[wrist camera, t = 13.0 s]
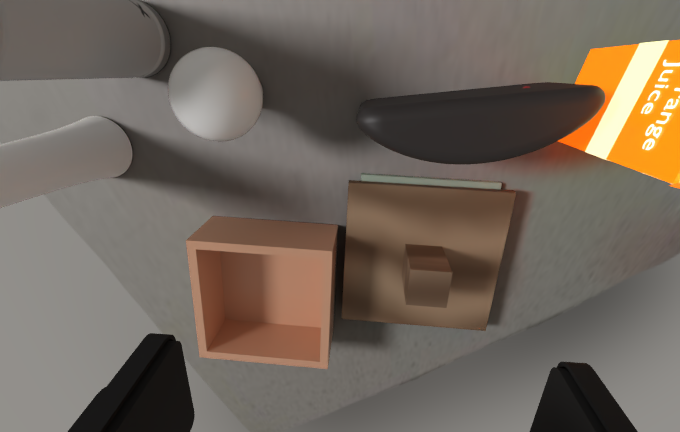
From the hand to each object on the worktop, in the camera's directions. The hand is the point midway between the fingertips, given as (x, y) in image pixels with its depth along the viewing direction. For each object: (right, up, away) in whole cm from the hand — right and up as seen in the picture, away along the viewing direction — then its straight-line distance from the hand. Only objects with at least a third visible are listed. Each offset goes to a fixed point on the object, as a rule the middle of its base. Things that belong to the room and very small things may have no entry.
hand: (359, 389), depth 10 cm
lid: (+8, +1, +28) cm, 29 cm away
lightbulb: (-9, +16, +24) cm, 30 cm away
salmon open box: (-7, -2, +31) cm, 32 cm away
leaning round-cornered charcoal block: (+9, +15, +23) cm, 29 cm away
